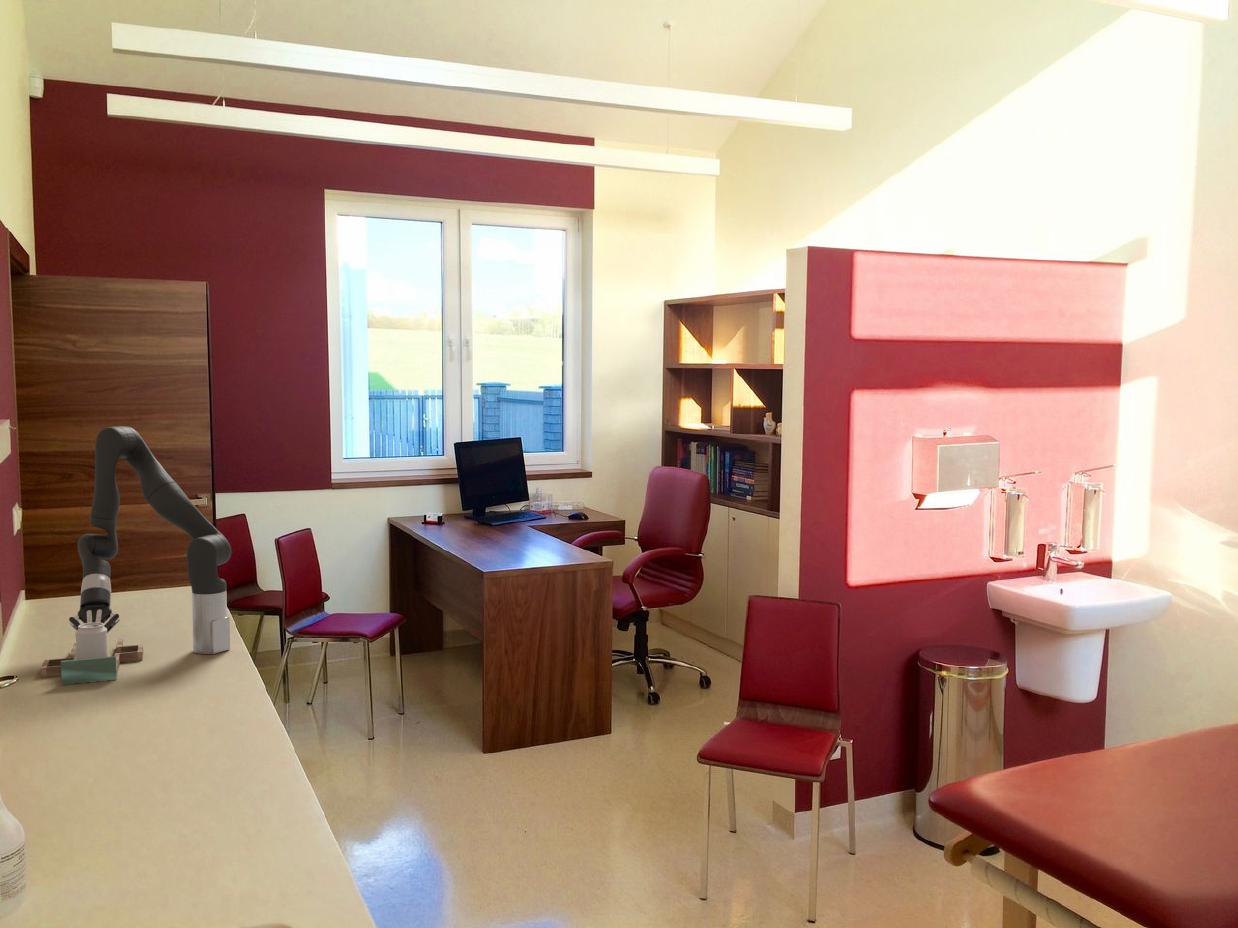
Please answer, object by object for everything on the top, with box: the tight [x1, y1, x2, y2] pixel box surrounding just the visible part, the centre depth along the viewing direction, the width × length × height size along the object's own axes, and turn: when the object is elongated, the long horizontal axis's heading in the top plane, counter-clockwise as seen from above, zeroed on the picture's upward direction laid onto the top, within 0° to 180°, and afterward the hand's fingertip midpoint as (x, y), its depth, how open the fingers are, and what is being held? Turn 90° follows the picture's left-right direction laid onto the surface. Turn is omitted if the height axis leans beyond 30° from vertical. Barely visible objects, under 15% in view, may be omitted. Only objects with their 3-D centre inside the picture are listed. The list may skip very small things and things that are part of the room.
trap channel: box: [40, 638, 144, 686], centre depth 271 cm, size 35×24×6 cm
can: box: [75, 622, 109, 660], centre depth 268 cm, size 8×8×12 cm
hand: (93, 646), depth 272 cm, fingers closed
